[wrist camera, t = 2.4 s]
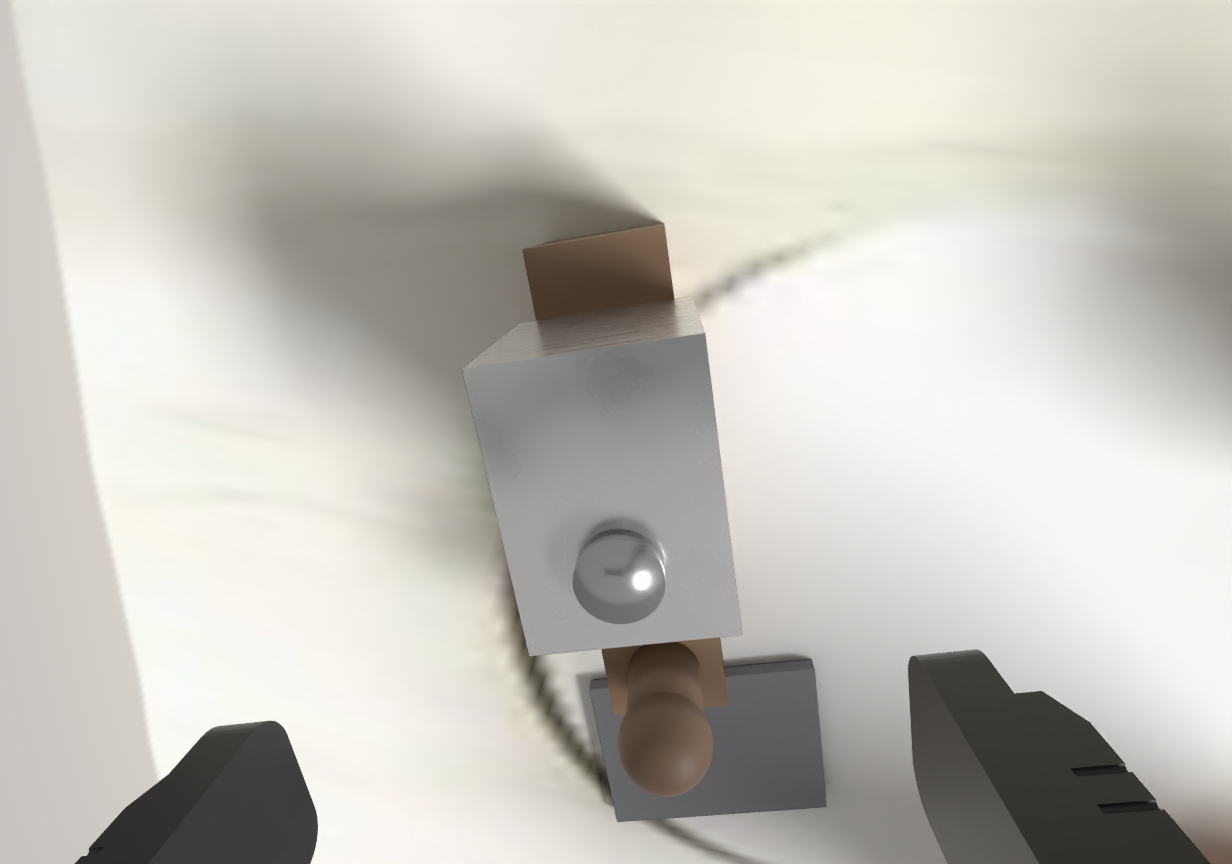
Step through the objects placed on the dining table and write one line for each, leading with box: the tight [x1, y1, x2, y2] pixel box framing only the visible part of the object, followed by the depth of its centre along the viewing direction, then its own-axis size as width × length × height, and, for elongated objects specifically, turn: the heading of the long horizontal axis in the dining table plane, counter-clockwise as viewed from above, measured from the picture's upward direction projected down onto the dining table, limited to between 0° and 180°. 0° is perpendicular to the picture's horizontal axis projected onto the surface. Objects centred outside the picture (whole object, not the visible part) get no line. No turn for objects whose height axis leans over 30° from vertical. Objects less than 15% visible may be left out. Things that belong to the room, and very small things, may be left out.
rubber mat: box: [590, 659, 827, 822], centre depth 28 cm, size 7×9×1 cm
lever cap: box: [462, 296, 742, 656], centre depth 17 cm, size 7×5×7 cm
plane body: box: [523, 223, 729, 797], centre depth 21 cm, size 16×4×9 cm, turn 9°
